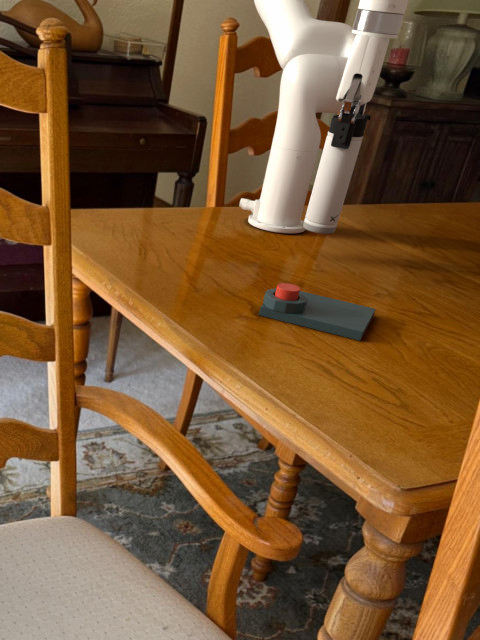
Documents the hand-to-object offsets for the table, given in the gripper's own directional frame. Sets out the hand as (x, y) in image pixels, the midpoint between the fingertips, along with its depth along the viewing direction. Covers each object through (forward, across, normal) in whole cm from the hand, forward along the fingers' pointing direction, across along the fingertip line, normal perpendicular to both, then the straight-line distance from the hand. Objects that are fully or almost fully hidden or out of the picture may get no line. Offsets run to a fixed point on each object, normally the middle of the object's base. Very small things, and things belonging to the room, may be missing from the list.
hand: (343, 143), depth 132 cm
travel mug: (+15, 0, 0) cm, 15 cm away
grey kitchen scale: (+19, +35, +8) cm, 40 cm away
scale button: (+17, +38, +3) cm, 41 cm away
